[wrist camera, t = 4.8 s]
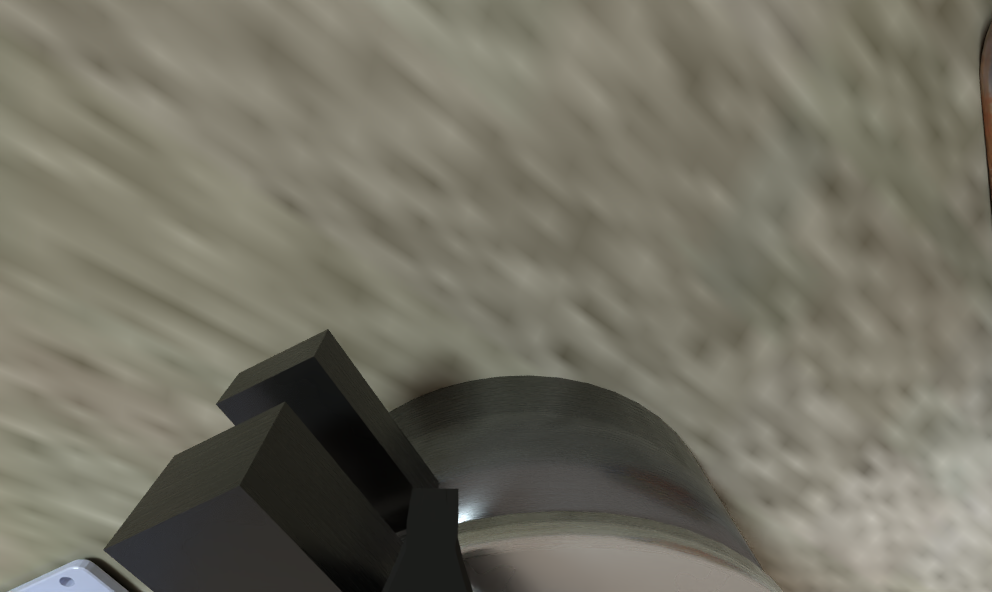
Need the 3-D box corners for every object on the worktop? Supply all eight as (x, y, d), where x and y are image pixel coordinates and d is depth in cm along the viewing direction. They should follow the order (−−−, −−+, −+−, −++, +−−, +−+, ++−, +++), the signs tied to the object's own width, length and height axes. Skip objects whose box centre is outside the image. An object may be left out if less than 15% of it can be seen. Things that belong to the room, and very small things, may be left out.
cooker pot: (435, 709, 25) (427, 892, 19) (120, 387, 17) (-50, 541, 11) (751, 591, 23) (846, 757, 17) (567, 159, 15) (631, 209, 9)
